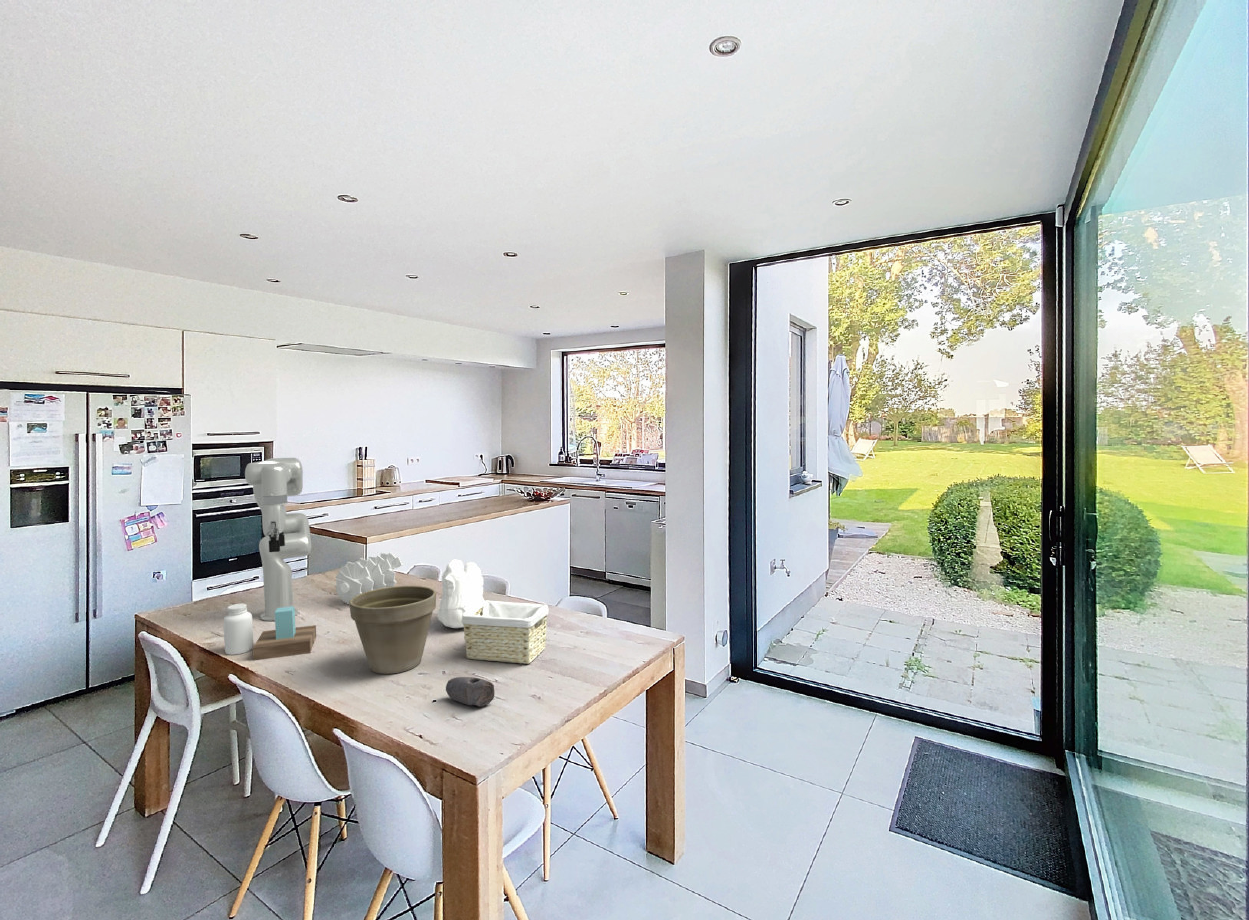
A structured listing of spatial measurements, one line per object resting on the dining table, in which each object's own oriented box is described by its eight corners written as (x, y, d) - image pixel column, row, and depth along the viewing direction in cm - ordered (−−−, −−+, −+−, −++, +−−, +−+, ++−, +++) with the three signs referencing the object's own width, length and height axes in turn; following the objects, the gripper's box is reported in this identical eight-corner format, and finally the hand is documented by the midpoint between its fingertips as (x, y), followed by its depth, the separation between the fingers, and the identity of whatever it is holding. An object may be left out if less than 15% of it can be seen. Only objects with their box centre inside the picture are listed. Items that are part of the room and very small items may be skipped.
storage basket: (460, 660, 188) (459, 614, 187) (485, 641, 204) (484, 598, 203) (531, 667, 182) (530, 620, 181) (550, 647, 198) (550, 604, 197)
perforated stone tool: (440, 701, 161) (439, 675, 160) (454, 693, 165) (453, 668, 165) (483, 713, 154) (482, 687, 153) (496, 704, 159) (496, 679, 158)
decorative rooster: (462, 636, 208) (460, 566, 206) (427, 630, 215) (425, 561, 213) (505, 615, 231) (504, 551, 229) (473, 609, 237) (471, 547, 236)
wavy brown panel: (263, 642, 204) (263, 631, 203) (316, 636, 209) (315, 625, 209) (253, 660, 189) (252, 648, 188) (310, 653, 194) (309, 641, 194)
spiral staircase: (338, 615, 245) (383, 595, 268) (366, 601, 238) (411, 582, 261) (320, 574, 246) (367, 557, 269) (348, 559, 239) (394, 543, 262)
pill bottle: (223, 657, 191) (220, 611, 190) (226, 648, 199) (224, 604, 198) (252, 652, 195) (250, 607, 194) (254, 644, 202) (252, 600, 201)
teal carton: (278, 634, 200) (277, 608, 200) (295, 632, 202) (294, 606, 201) (275, 639, 196) (274, 612, 195) (293, 637, 197) (292, 610, 197)
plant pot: (374, 648, 198) (372, 584, 196) (448, 649, 197) (447, 584, 195) (335, 681, 173) (332, 608, 171) (420, 682, 172) (418, 608, 171)
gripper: (267, 498, 216) (269, 545, 217) (257, 504, 200) (259, 555, 201) (291, 497, 219) (293, 543, 220) (282, 503, 202) (285, 553, 204)
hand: (277, 548), depth 210 cm, fingers open, 9 cm apart
